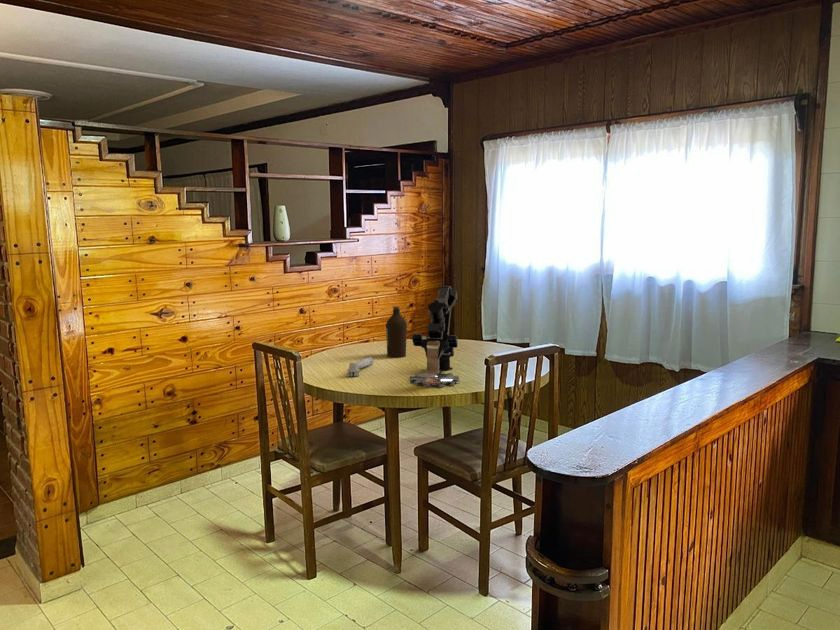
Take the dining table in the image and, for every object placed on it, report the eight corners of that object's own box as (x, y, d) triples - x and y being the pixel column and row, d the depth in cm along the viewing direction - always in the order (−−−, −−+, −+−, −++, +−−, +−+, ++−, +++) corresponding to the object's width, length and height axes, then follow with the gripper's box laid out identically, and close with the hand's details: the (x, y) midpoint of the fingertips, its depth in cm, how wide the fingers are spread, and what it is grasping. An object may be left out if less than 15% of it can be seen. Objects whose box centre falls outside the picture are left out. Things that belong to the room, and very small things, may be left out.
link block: (428, 370, 261) (428, 340, 259) (439, 371, 260) (439, 340, 258) (426, 373, 256) (426, 342, 254) (437, 374, 256) (438, 343, 254)
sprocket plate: (400, 378, 268) (400, 373, 268) (442, 372, 279) (442, 367, 278) (425, 390, 250) (425, 384, 250) (468, 383, 260) (468, 378, 260)
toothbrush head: (375, 357, 294) (357, 361, 269) (374, 371, 294) (356, 376, 269) (364, 356, 295) (345, 360, 270) (364, 370, 295) (345, 376, 271)
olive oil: (408, 353, 318) (408, 305, 314) (405, 358, 307) (405, 308, 304) (388, 353, 319) (387, 304, 315) (384, 357, 309) (383, 307, 305)
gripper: (412, 314, 260) (407, 346, 251) (457, 316, 257) (453, 347, 248) (416, 330, 269) (411, 360, 260) (459, 331, 266) (455, 362, 257)
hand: (432, 357), depth 256 cm, fingers closed on link block, 4 cm apart
